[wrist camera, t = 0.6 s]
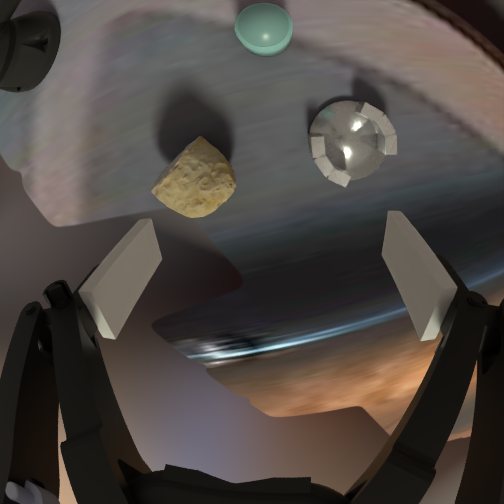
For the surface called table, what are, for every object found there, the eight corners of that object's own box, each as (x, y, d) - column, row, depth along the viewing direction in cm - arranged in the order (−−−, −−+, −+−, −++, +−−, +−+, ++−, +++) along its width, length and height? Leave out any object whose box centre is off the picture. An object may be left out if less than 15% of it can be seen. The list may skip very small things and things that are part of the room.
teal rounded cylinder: (231, 33, 27) (221, 22, 21) (269, 7, 24) (267, -8, 19) (262, 65, 29) (258, 60, 24) (301, 40, 26) (305, 29, 21)
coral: (178, 111, 26) (227, 183, 26) (215, 131, 36) (256, 189, 36) (120, 168, 29) (159, 239, 29) (166, 174, 39) (201, 230, 39)
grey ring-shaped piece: (292, 129, 33) (293, 133, 30) (358, 86, 29) (366, 85, 25) (337, 192, 36) (343, 202, 33) (399, 153, 32) (410, 160, 29)
